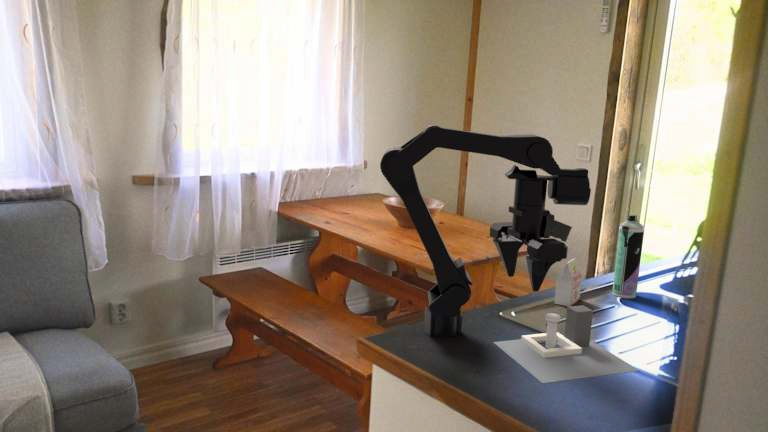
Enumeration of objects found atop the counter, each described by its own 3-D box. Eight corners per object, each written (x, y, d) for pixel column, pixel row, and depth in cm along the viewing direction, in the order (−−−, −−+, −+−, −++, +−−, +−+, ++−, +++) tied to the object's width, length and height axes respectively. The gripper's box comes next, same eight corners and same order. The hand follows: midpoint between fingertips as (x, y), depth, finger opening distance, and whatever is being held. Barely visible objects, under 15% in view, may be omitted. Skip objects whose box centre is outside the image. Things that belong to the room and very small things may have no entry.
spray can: (633, 300, 146) (643, 218, 142) (610, 295, 149) (619, 215, 145) (637, 294, 151) (647, 215, 147) (614, 290, 153) (623, 212, 150)
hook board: (541, 391, 99) (545, 347, 98) (492, 349, 115) (495, 311, 113) (638, 378, 105) (643, 337, 103) (578, 340, 121) (582, 303, 119)
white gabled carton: (554, 303, 142) (558, 262, 140) (564, 296, 147) (568, 256, 145) (569, 307, 140) (573, 265, 138) (579, 299, 145) (583, 259, 143)
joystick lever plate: (543, 357, 108) (547, 320, 107) (521, 340, 116) (523, 305, 114) (597, 351, 112) (601, 315, 110) (572, 335, 119) (575, 301, 118)
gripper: (597, 211, 107) (588, 296, 110) (540, 194, 124) (533, 267, 127) (542, 213, 104) (534, 300, 107) (491, 195, 121) (485, 270, 124)
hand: (522, 283), depth 116 cm, fingers open, 9 cm apart
